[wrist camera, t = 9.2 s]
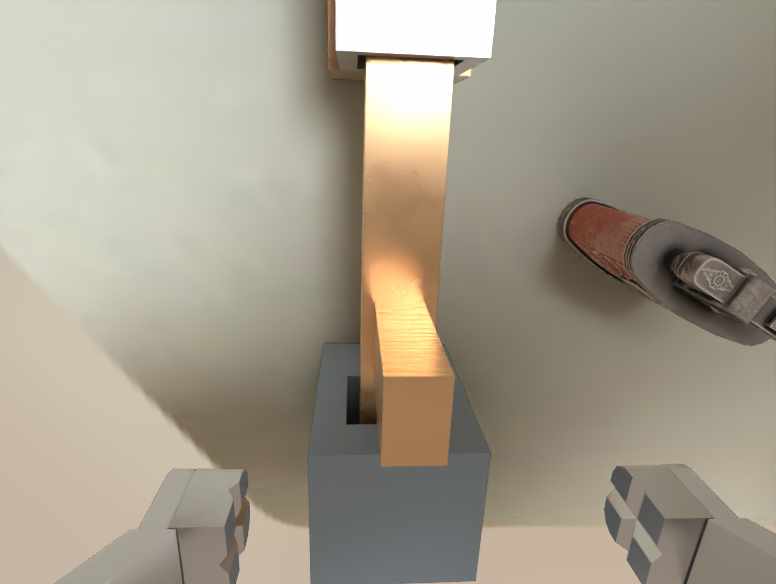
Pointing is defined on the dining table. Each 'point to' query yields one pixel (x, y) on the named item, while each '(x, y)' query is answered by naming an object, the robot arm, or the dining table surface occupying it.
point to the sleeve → (408, 33)
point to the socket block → (389, 492)
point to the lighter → (675, 269)
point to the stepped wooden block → (404, 258)
